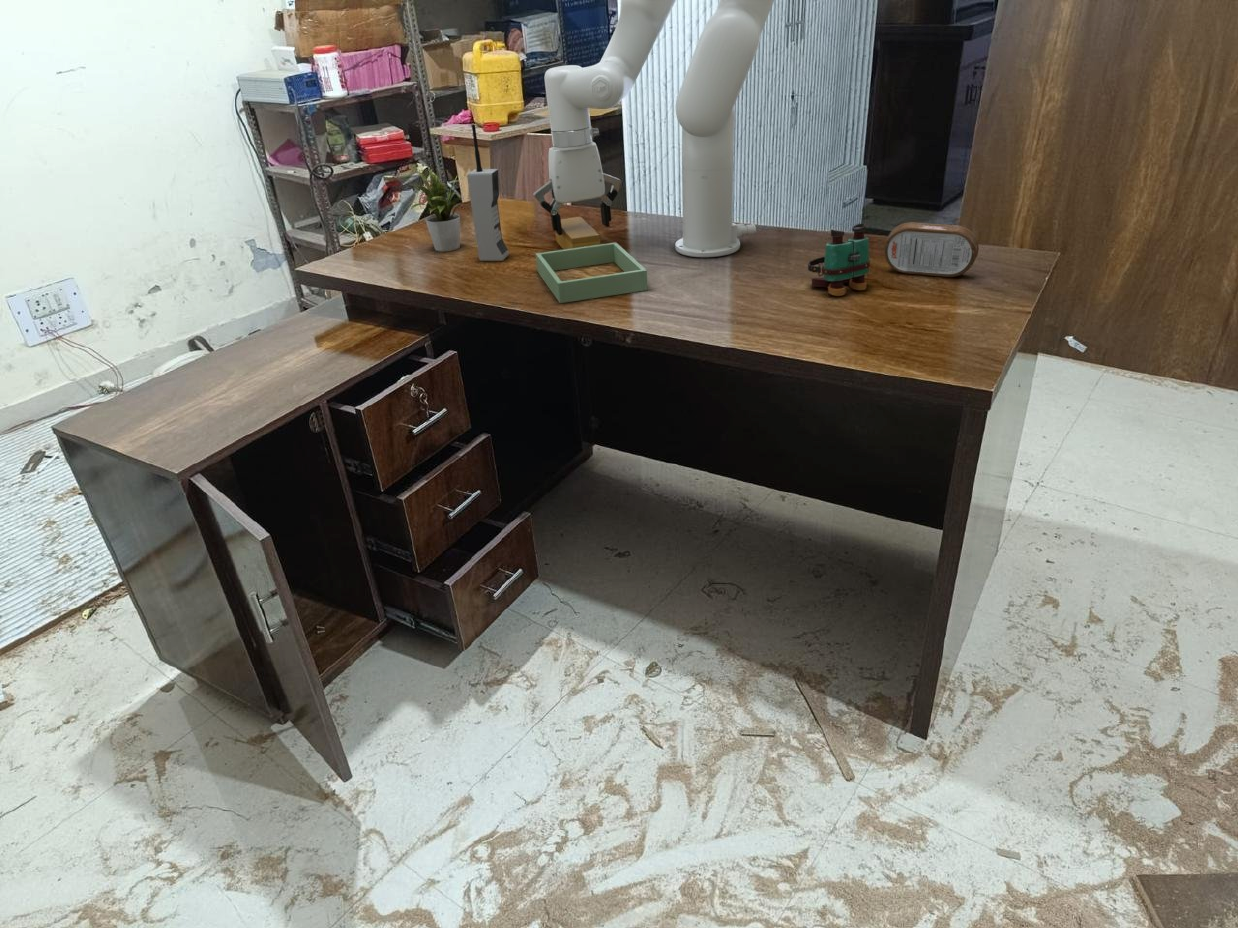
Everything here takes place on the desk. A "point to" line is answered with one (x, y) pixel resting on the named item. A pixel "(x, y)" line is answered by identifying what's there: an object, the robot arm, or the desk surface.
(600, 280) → the green rectangular open frame
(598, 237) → the tan wooden plank
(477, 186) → the vintage mobile phone
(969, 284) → the desk surface
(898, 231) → the tin
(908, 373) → the desk surface
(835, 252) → the binoculars
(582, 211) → the desk surface
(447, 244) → the house plant
